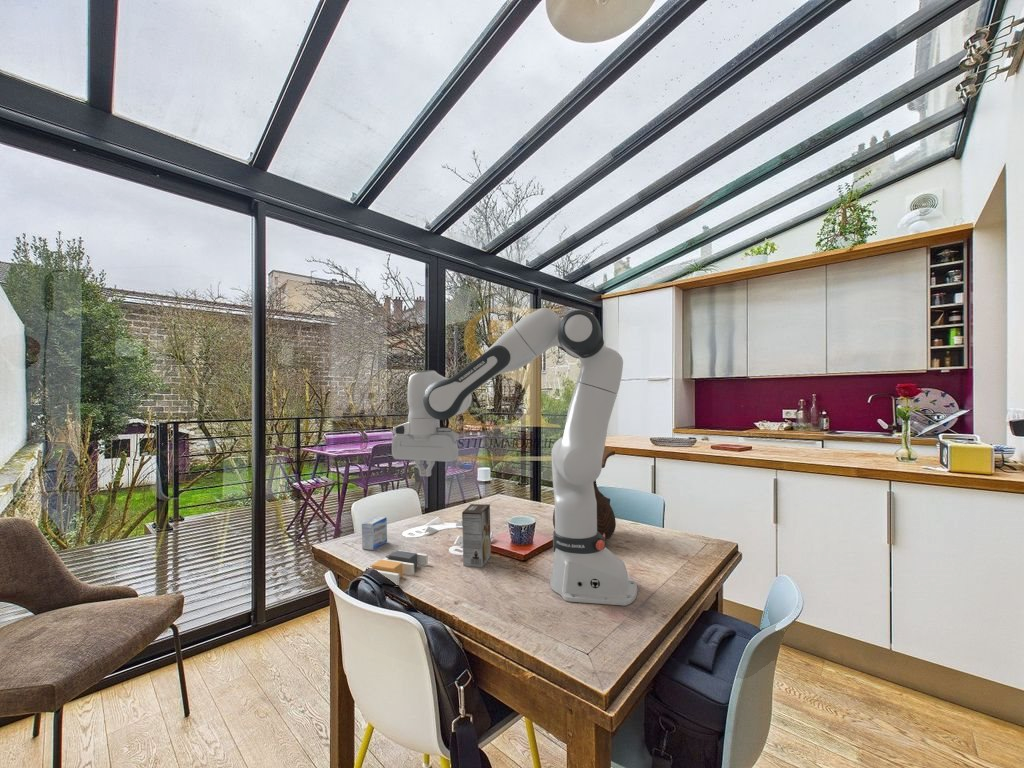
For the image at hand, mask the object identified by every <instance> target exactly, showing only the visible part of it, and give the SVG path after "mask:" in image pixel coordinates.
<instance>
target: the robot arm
mask: <svg viewBox="0 0 1024 768" xmlns="http://www.w3.org/2000/svg"><path fill="white" fill-rule="evenodd" d="M604 344H605V341H604V336H603V333H602V327H601V325H600V322H599V320H598V319H597V317H596V316H595V315H594V314H593V313H591V312H589V311H587V310H584V309H576V310H573V311H570V312H568V313H566V315H564V316H563V318H561V317H560V316H559V315H558V314H557V313H556V312H555V311H553V310H552V309H550V308H547V307H542V308H541V307H540V308H539V309H536V310H534V311H532V312H531V313H528V314H527V315H526V316H524V317H523V318H521V319H519V321H517V322H516V323H514V324H513V325H512V326H510V327H509V328H508V329H507V330H506V331H505V332H503V334H502V335H500V336H499V338H498V339H496V340H495V342H494V343H492V345H491V346H490V347H488V348H487V350H486V351H484V352H483V353H482V354H481V355H479V357H477V358H476V359H474V360H473V361H472V362H471V363H469V364H468V365H466V366H465V367H464V368H463V369H461V370H459V372H457V373H456V374H454V375H452V376H451V377H445V376H443V375H442V374H440V373H438V372H437V371H436V370H434V369H427V370H421V371H417V372H414V373H412V374H411V375H410V376H409V379H408V383H407V394H406V395H407V405H408V416H407V422H405V423H401V424H399V425H396V426H393V428H392V432H393V435H394V436H393V437H392V439H391V455H392V458H393V459H394V460H401V461H402V460H404V461H405V460H406V461H415V466H416V467H417V470H418V473H419V477H427V478H428V477H431V476H432V470H433V467H434V466H435V464H436V462H446V463H447V462H449V463H450V462H454V461H457V460H458V458H459V455H460V454H459V445H458V433H457V432H456V430H454V429H453V428H451V427H441V425H440V424H441V423H440V421H446V420H449V419H451V418H452V417H456V416H458V415H461V414H463V413H464V412H467V410H468V409H470V407H471V405H472V402H473V395H472V393H474V392H475V391H476V390H478V389H479V388H480V387H481V386H483V385H485V383H487V382H488V381H489V380H491V379H493V378H495V377H496V376H499V375H501V374H504V373H508V372H513V371H517V370H519V369H521V368H523V367H525V366H527V365H528V364H530V363H531V362H533V361H534V360H536V359H537V358H538V357H540V356H541V355H542V354H544V352H546V351H547V350H549V349H551V348H553V347H557V348H559V349H561V350H562V351H563V352H564V353H566V354H567V355H569V356H570V357H572V358H574V359H579V360H580V370H579V373H578V377H577V379H576V380H577V381H576V382H575V386H574V390H573V392H572V393H573V394H572V395H571V398H570V399H571V400H570V401H569V402H570V403H569V406H568V408H567V416H566V419H565V420H566V421H565V424H564V425H565V427H564V431H563V435H562V436H561V437H559V438H558V439H557V440H556V441H555V442H554V443H553V446H552V448H551V452H550V453H551V455H550V456H551V472H552V475H551V476H552V490H553V497H554V498H553V501H554V508H555V529H554V530H553V535H552V548H553V552H554V553H553V554H554V555H553V556H554V557H553V565H552V566H553V567H552V570H551V571H552V572H551V576H550V580H549V587H550V588H551V589H552V591H554V592H555V593H557V594H559V595H560V597H561V598H562V599H563V600H564V601H566V602H568V603H569V602H573V603H583V604H584V603H586V604H597V605H598V604H599V605H600V604H601V605H612V606H628V605H630V604H632V603H633V602H634V601H635V600H636V599H637V596H638V595H637V594H638V585H637V582H636V580H635V579H633V578H631V577H629V574H628V569H627V567H626V565H625V562H624V561H623V560H622V559H621V558H619V557H618V556H617V555H615V554H614V553H613V552H612V551H611V550H610V549H608V548H607V547H606V541H605V534H603V535H601V534H600V533H599V532H598V531H597V502H596V497H595V491H594V484H593V482H594V481H595V480H596V481H597V479H598V478H599V476H600V475H601V472H602V470H603V468H602V457H603V453H604V448H605V446H606V442H607V441H606V440H607V434H608V427H609V423H610V419H611V416H612V413H613V409H614V406H615V402H616V400H617V396H618V393H619V390H620V386H621V382H622V381H621V380H622V377H623V376H622V375H623V370H624V369H623V368H624V367H623V366H624V360H623V357H622V355H621V354H620V353H619V352H618V351H616V350H615V349H613V348H610V347H607V346H605V345H604ZM424 461H426V465H427V467H426V468H425V466H424Z"/></svg>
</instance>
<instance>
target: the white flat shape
mask: <svg viewBox="0 0 1024 768" xmlns="http://www.w3.org/2000/svg"><path fill="white" fill-rule="evenodd" d="M457 528H461V529H463V527H462V520H459V519H458V520H457V522H443V520H442V519H441V518H440V517H439V516H437V517H435V518H433V519H432V520H430V521H429V522H427V523H426V524H425V525H419V526H416V527H412V528H409V529H407V530H404V531H403V532H402V533H401V535H402V537H403V538H407V539H408V538H409V539H415V538H416V539H417V538H422V537H424V536H426V535H430V534H431V535H432V534H434V533H437V532H440V531H444V530H451V529H457ZM419 532H420V533H419ZM411 534H412V535H411ZM493 536H494V533H493V532H492V531H490V540H491V539H492V537H493ZM493 538H494V537H493ZM492 540H493V539H492ZM456 544H457V545H456ZM457 550H459V551H457ZM461 551H462V552H461ZM448 552H449V553H450V554H451V555H454V556H463V536H460V535H458V536H457V537H456V538H455V540H454V542H453V546H450V547H449V548H448Z"/></svg>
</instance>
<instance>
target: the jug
mask: <svg viewBox="0 0 1024 768" xmlns="http://www.w3.org/2000/svg"><path fill="white" fill-rule="evenodd" d="M615 455H616V451H615V450H614V449H610V448H605V447H604V453H603V457H602V469H603V468H605V467H606V464H607V461H608V459H609V458H610V457H611V456H615ZM593 484H594V491H595V497H596V502H597V531H598V532H599V533H600V534H601V535H603V534H605V542H606V541H608V540H610V538H612V536H613V535H614V533H615V531H616V528H617V527H616V526H617V523H616V522H617V521H616V514H615V511H614V509H613V508H612V506H611V498H610V497H609V498H608V497H606V496H605V495H604V494H603V493H602V492H601V491H600V490H599V487H598V484H597V479H596V480H595V481H594V482H593ZM552 524H553V525H552V526H553V529H554V530H555V507H554V508H553V514H552Z"/></svg>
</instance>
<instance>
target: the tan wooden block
mask: <svg viewBox="0 0 1024 768" xmlns="http://www.w3.org/2000/svg"><path fill="white" fill-rule="evenodd" d="M376 562H377V561H376ZM376 562H374V563H375V564H374V563H373V565H372V564H371V565H372V569H375V570H380V571H386V572H392V573H398V574H399V579H401V578H403V574H402V563H400V562H394V561H387V560H382V559H380V561H379V560H378V562H377V563H376Z"/></svg>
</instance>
